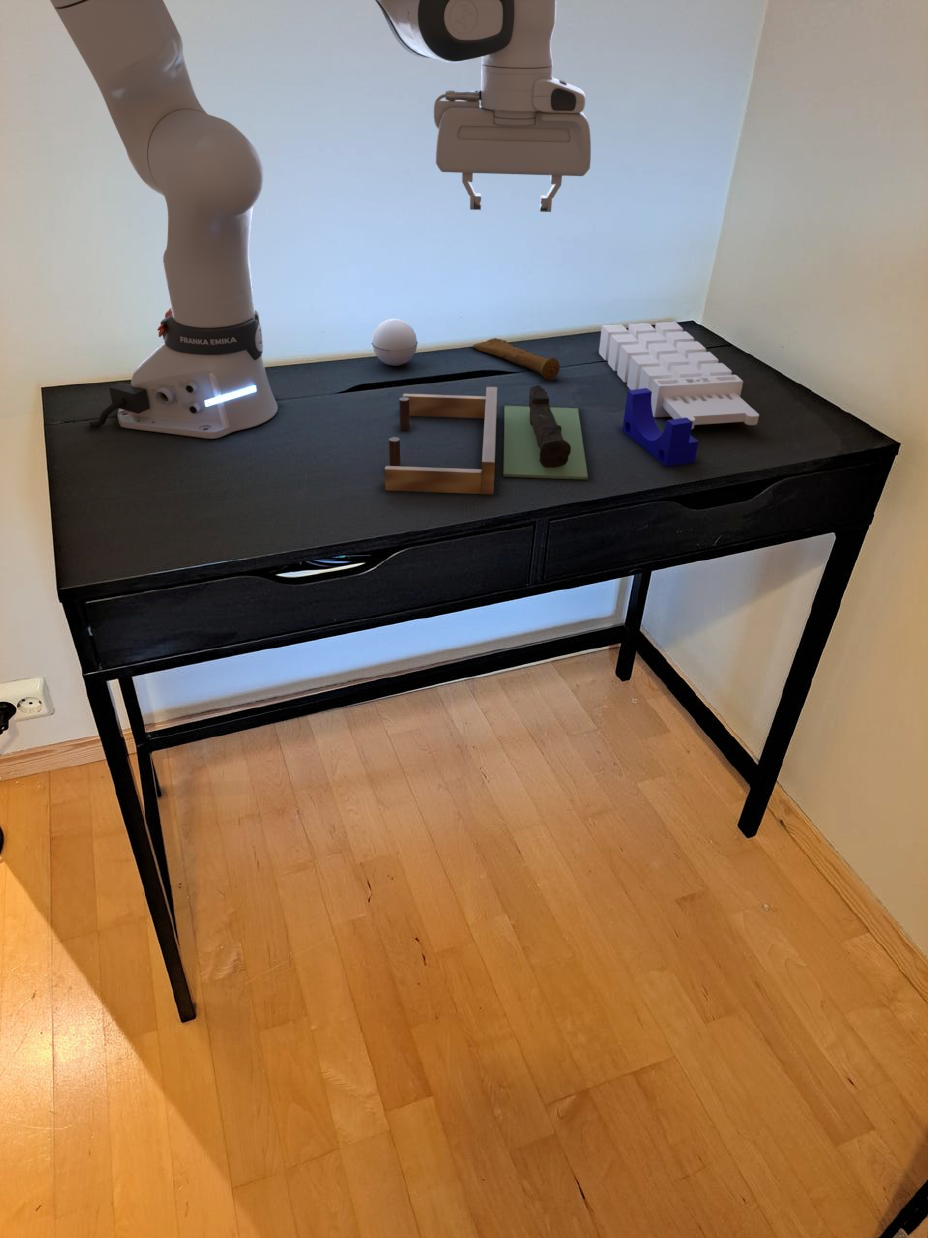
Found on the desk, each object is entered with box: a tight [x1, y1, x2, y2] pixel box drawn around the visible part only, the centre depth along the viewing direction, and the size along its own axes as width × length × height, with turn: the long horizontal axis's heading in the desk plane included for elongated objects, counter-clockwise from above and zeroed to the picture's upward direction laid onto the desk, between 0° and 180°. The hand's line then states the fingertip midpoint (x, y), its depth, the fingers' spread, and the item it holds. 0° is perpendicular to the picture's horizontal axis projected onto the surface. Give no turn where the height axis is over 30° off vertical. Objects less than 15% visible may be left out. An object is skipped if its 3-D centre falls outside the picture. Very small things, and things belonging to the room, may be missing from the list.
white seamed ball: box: [371, 318, 420, 367], centre depth 145 cm, size 10×7×7 cm
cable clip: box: [622, 388, 699, 467], centre depth 124 cm, size 12×4×6 cm, turn 21°
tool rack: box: [384, 386, 498, 495], centre depth 122 cm, size 14×24×4 cm, turn 178°
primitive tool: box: [472, 337, 561, 381], centre depth 149 cm, size 19×6×4 cm, turn 37°
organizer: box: [598, 321, 760, 430], centre depth 140 cm, size 13×5×35 cm
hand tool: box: [528, 384, 571, 468], centre depth 125 cm, size 19×4×5 cm, turn 3°
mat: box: [502, 405, 589, 481], centre depth 126 cm, size 11×22×1 cm, turn 178°
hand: (510, 209), depth 121 cm, fingers open, 8 cm apart
